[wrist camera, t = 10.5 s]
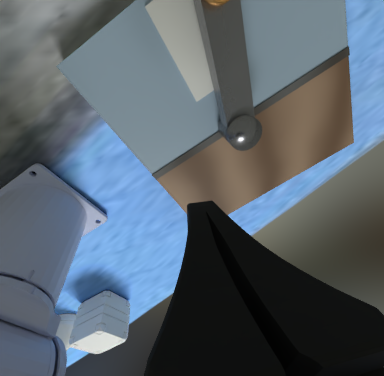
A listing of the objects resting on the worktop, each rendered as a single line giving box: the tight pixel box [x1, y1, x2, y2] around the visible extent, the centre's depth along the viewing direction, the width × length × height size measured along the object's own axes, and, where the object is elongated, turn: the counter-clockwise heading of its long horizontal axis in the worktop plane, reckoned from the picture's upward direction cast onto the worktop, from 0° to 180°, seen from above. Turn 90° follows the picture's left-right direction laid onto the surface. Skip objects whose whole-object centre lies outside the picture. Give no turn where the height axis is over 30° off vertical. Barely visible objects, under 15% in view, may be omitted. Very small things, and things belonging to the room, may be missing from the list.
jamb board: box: [152, 47, 354, 215], centre depth 19 cm, size 18×9×2 cm, turn 121°
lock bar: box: [193, 0, 262, 151], centre depth 12 cm, size 10×2×3 cm, turn 18°
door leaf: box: [56, 0, 348, 174], centre depth 14 cm, size 18×10×2 cm, turn 121°
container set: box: [55, 291, 130, 354], centre depth 28 cm, size 20×5×6 cm, turn 119°
